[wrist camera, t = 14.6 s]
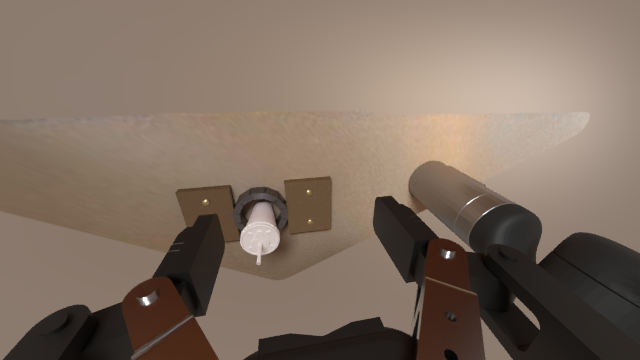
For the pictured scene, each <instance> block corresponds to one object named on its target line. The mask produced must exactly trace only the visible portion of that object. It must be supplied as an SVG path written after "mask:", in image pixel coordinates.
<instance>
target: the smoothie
mask: <svg viewBox="0 0 640 360" xmlns="http://www.w3.org/2000/svg"><path fill="white" fill-rule="evenodd" d="M279 242H280V233H279V231H278V229H277V227H276V222H275V217H274V212H273V207H272V205H271V204H270V203H269V202H267V201H260V202H258V203H256V204H255V206H254V208H253V211H252V213H251V216H250V218H249V220H248V223H247V225H246V227H245V228H244V229H243V230H242V232H241V238H240V243H241V246H242V248H243V249H244V250H245V251H246V252H248V253H250V254H253V255H258V256H257V265H260V264H261V255H265V254H269V253H271V252H272V251H274V250H275V249H276V248H277V247H278V245H279Z"/></svg>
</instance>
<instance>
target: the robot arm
mask: <svg viewBox="0 0 640 360" xmlns="http://www.w3.org/2000/svg"><path fill="white" fill-rule="evenodd" d="M409 190H410V192H411V194H412V195H413V196H414V197H415V198H416V199H417V200H418V201H419V202H421V203H422V204H423V205H424V206H425V207H426V208H427V209H428V210H429V211H430V212H431V213H433V214H434V215H435V216H436V217H437V218H438V219H439V220H440V221H442V222H443V223H444V224H445V225H446V226H447V227H448V228H449V229H450V230H451V231H452V232H454V233H455V234H456V235H457V236H458V237H459V238H460V239H461V240H462V241H464V242H465V243H466V244H467V245H468V246H469V247H470V248H471V249H473V251H475V252H476V253H472V252H466V251H465V250H464V249H463V248H462V247H461V246H460V245H459V244H456V243H455V242H453V241H450V240H448V239H441V238H439V237H438V236H437V235H436V234H435V233H434V232H433V231H432V230H431V229H430V228H429V227H428V226H427V225H426V224H425V223H424V222H423V221H422V220H421V219H420V218H419V217H418V216H417V215H416V214H415V213H414V212H413V211H412V210H411V209H410V208H408V207H407V206H405V205H403V204H399V203H398V202H397V201H396V200H395V199H394V198H393V197H392V196H384V197H377V198H376V200H375V208H374V217H373V227H374V231H375V233H376V235H377V236H378V238H379V239H380V241H381V243H382V244H383V246H384V248H385V249H386V251H387V253H388V254H389V256H390V257H391V259H392V261H393V262H394V264H395V266H396V267H397V269H398V271H399V272H400V274H401V276H402V277H403V279H404V281H405V282H406V283H409V282H415V281H416V283H417V284H418V288H417V293H416V300H415V306H414V312H413V319H412V326H411V331H410V335H408V334H406V333H404V332H402V331H399V330H396V329H393V328H388V327H384V326H383V324H382V322H381V319H380V317H376V318H371V319H366V320H360V321H355V322H351V323H349V324H347V325H345V326H343V327H341V328H339V329H337V330H335V331H333V332H331V333H329V334H327V335H325V336H312V335H301V334H285V335H280V336H274V337H269V338H264V339H259V346H258V351H257V352H255V353H253V354H251V355H250V356H248V357H246V358H245V359H244V360H485V352H484V343H483V335H482V327H481V318H482V320H483V321H484V322H485V323H486V325H487V326H488V327H489V329H490V330H491V331H492V333H493V334H494V335H495V337H496V338H497V339H498V340H499V342H500V343H501V344H502V346H503V347H504V348H505V350H506V351H507V352H508V354H509V355H510V356H511V357H512V359H513V360H640V253H638V252H636V251H634V250H632V249H630V248H627V247H626V246H623V245H621V244H619V243H617V242H614V241H612V240H609V239H607V238H604V237H601V236H598V235H595V234H591V233H583V232H579V233H574V234H572V235H570V236H569V237H568V238H566V239H565V240H563V241H562V242H561V243H560V244H559V245H558V246H557V247H556V248H555V249H554V251H552V252H550V253H549V254H548V255H547V256H546V257H545V258H544V259H543V260H542V261H541V262H540V263H539V264H536V251H537V246H538V244H539V241H540V238H541V234H542V225H541V222H540V220H539V218H538V217H537V216H536V215H535V214H534V213H532V212H530V211H529V210H527V209H525V208H524V207H522V206H520V205H517V204H516V203H514V202H512V201H510V200H509V199H507V198H505V197H503V196H501V195H499V194H497V193H496V192H494V191H492V190H490V189H489V188H487V187H486V186H485V185H484V184H482V183H481V182H479V181H477V180H475V179H473V178H471V177H469V176H468V175H466V174H464V173H462V172H460V171H458V170H457V169H455V168H453V167H451V166H447V165H445V164H443V163H441V162H439V161H430V162H427V163H425V164H423V165H421V166H420V167H418V168H417V169H416V170H415V172H414V173H413V174H412V176H411V178H410V182H409ZM224 249H225V242H224V236H223V233H222V229H221V225H220V221H219V217H218V215H217V214H216V213H215V214H206V215H199V216H198V218H197V219H196V221H195V223H194V225H193V226H192V227H187V228H186V229H184V230H183V231H182V232H181V233H180V234H178V236H177V237H176V239H175V241H174V242H173V245H172V246H171V247H170V249H169V252H167V254H166V256H165V257H164V259H163V260H162V262H161V264H160V265H159V267H158V269H157V270H156V272H155V274H154V275H153V277H152V278H151V279H148V280H146V281H144V282H142V283H140V284H138V285H137V286H136V287H134V288H133V289H132V290H131V291H130V292H129V293H128V294H127V295H126V296H125V298H124V299H123V301H122V302H121V303H118V304H115V305H113V306H110V307H107V308H105V309H102V310H99V311H97V312H94V313H91V311H90V310H89V308H88V307H87V306H85V305H73V306H69V307H66V308H63V309H61V310H58V311H57V312H54V313H52V314H51V315H49V316H47V317H46V318H44V319H43V320H41V321H40V322H39V323H37V324H36V325H35V326H34V327H32V328H31V330H30V331H28V332H27V333H26V335H25V336H24V337H23V338H22V339H21V340H20V341H19V342H18V343H17V345H16V346H15V347H14V348H13V349H12V350H11V351H10V352H9V354H8V355H7V356H6V357H5V358H4V359H3V360H219V359H218V357H217V355H216V354H215V352H214V350H213V349H212V347H211V345H210V343H209V341H208V340H207V338H206V336H205V335H204V333H203V331H202V329H201V328H200V326H199V324H198V322H197V321H196V319H195V317H198V316H204V315H206V311H207V308H208V304H209V301H210V298H211V294H212V291H213V287H214V284H215V281H216V277H217V274H218V271H219V267H220V264H221V260H222V257H223V254H224ZM516 297H517V298H518V299H519V300H520V301H521V302H522V303H524V305H525V306H526V307H527V308H529V310H530V311H532V313H533V314H534V315H535V316H536V318H537V319H538V321H539V324H540V330H539V329H538V328H537V327H536V326H535V325H534V324H533V323H532V322H531V321H530V320H529V319H528V318H527V317H526V316H525V315H524V314H523V312H522V311H521V310H520V309H519V308H518V307H517V306H516V305H515V304H514V303H513V302H514V300H515V298H516ZM480 317H481V318H480Z"/></svg>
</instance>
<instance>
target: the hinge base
mask: <svg viewBox="0 0 640 360" xmlns="http://www.w3.org/2000/svg"><path fill="white" fill-rule="evenodd" d="M284 183H285V194H286V200H285V199H284V198H283V197H282V195H281V194H280V193H279V192H278V191H275V190H273V189H270V188H268V187H266V188H265V187H257V188H252V189H251V188H250V189H249V190H247V191H246V192H244V193H243V194H241V195H240V196H239V198H238V200H237V202H236V205H234V201H233V196H232V191H231V186H230V185H225V186H214V187H202V188H190V189H179V190H177V192H176V196H177V199H178V201H179V204H180V207H181V210H182V213H183V216H184V219H185V222H186V225H187V227H192V226H193V225H194V223H195V221H196V219H197V218H198V216H199V215H206V214H215V213H216V214H217V215H218V217H219V221H220V225H221V229H222V233H223V236H224V242H226V241H234V240H240V238H241V234H240V230H241V231H242V230H243V229H244V228H245V227H246V225H247V223H248V220H247V219H246V218H245V217H244V216H243V213H242V208H243V206H244V205H245V204H247V203H248V202H250V201H252V200H256V199H266V200H269V201H271V202H274V203H275V204H276V205H277V206H278V207H279V209H280V210H281V213H280V215H279V217H278V218H277V220H275V222H276V227H277V229H278V231H280V230H282V229H283V227H284V225H285V223H286V222H287V220H288V226H289V234H292V233H300V232H308V231H317V230H325V229H331V178H330V176H329V177H318V178H306V179H295V180H284Z"/></svg>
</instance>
